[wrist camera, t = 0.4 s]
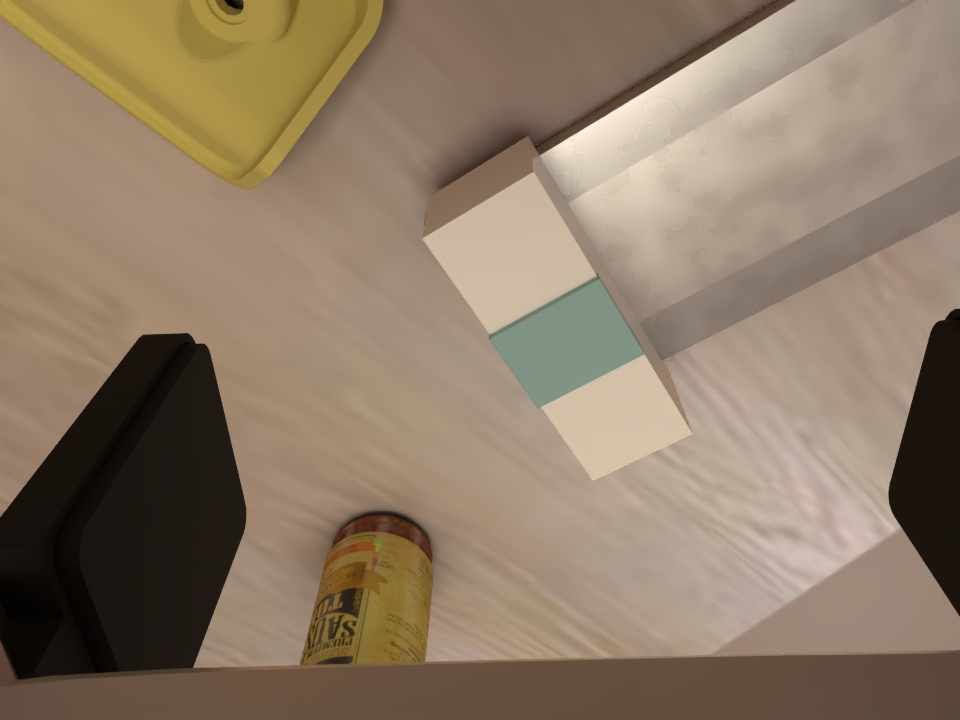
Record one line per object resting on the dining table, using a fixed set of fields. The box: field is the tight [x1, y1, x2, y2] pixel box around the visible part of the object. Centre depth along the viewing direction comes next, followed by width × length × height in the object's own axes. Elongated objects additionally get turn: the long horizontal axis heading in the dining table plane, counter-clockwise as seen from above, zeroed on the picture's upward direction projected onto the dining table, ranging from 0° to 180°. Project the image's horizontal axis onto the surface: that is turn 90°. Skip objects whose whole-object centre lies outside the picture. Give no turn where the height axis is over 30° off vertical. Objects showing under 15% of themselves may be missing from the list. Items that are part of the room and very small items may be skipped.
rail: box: [424, 0, 960, 360], centre depth 36 cm, size 30×12×2 cm, turn 122°
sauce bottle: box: [300, 515, 433, 665], centre depth 40 cm, size 7×6×20 cm
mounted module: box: [422, 136, 692, 480], centre depth 36 cm, size 5×14×5 cm, turn 32°
